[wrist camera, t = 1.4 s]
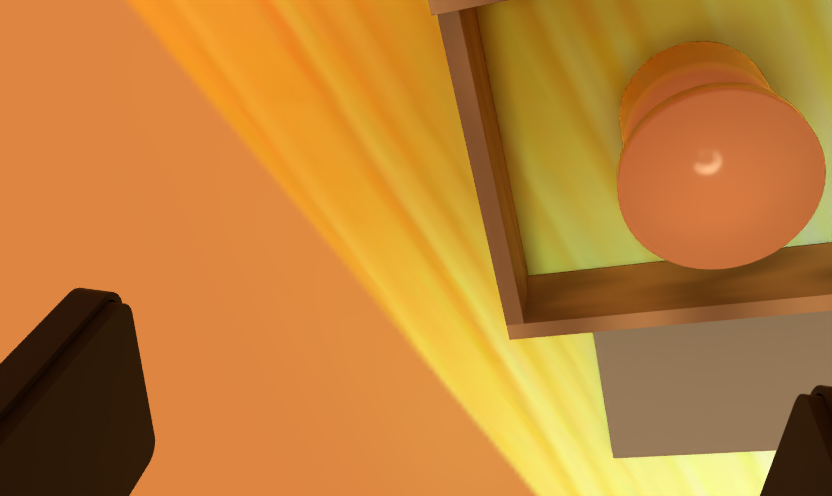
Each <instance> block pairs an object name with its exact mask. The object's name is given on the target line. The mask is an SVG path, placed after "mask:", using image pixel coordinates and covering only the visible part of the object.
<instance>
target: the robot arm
mask: <svg viewBox="0 0 832 496" xmlns="http://www.w3.org/2000/svg"><path fill="white" fill-rule="evenodd" d="M154 447H155V436H154V430H153V425H152V419H151V414H150V408H149V403H148V397H147V392H146V386H145V381H144V375H143V370H142V364H141V359H140V353H139V348H138V342H137V337H136V331H135V326H134V320H133V315H132V311H131V308H130V307H129V305H127V304H123V303H122V301H121V298H120V297H119V295H118V294H116V293H114V292H108V291H100V290H93V289H85V288H76V289H74V290H72V291H71V292H70V293H69V294H68V295H67V296H66V297H65V298H64V299H63V300H62V301H61V302H60V303H59V304H58V305H57V306H56V307H55V308H54V309H53V310H52V311H51V312H50V313H49V314H48V315H47V316H46V317H45V318H44V320H43V321H42V322H41V323H39V325H38V326H37V327H36V328H35V329H34V330H33V331H32V332H31V333H30V334H29V335H28V336H27V337H26V338H25V339H24V340H23V341H22V342H21V343H20V344H19V345H18V346H17V347H16V348H15V349H14V350H13V351H12V352H11V353H10V354H9V356H7V358H6V359H5V360H4V361H3V362H2V363H1V364H0V496H129V495H130V493H131V492H132V490H133V489H134V487H135V485H136V484H137V482H138V480H139V479H140V477H141V476H142V473H143V472H144V471H145V469H146V467H147V466H148V464H149V462H150V460H151V458H152V455H153V451H154ZM760 496H832V386H825V385H817V386H816V387H815V388H814V389H813V390H812V392H811V394H810V395H809V394H800V395H799V396H798V397H797V398H796V400H795V402H794V405H793V408H792V411H791V413H790V416H789V419H788V421H787V424H786V427H785V430H784V432H783V435H782V438H781V440H780V443H779V446H778V448H777V451H776V454H775V457H774V459H773V462H772V465H771V467H770V470H769V473H768V475H767V478H766V481H765V484H764V486H763V489H762V492H761V494H760Z"/></svg>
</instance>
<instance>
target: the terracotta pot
mask: <svg viewBox="0 0 832 496" xmlns="http://www.w3.org/2000/svg"><path fill="white" fill-rule="evenodd" d="M620 127H621V134H622V142H623V149H622V151H621V154H620V158H619V162H618V167H617V190H618V200H619V205H620V209H621V212H622V215H623V218H624V220H625V222H626V224H627V226H628V228H629V229H630V231H631V232H632V234H633V235H634V236H635V237H636V239H637V240H638V241H639V242H640V243H641V244H642V245H643V246H644V247H646V248H647V249H648V250H650V251H651V252H652V253H654V254H655V255H657V256H659V257H661V258H663V259H665V260H667V261H669V262H672V263H674V264H678V265H681V266H685V267H690V268H696V269H710V270H712V269H726V268H733V267H738V266H742V265H746V264H749V263H752V262H755V261H757V260H760V259H762V258H764V257H766V256H768V255H770V254H772V253H774V252H776V251H777V250H779V249H780V248H782V247H783V246H785V245H786V244H787V243H788V242H790V241H791V240H792V239H793V238H795V237H796V236H797V234H798V233H799V232H800V231H801V230H802V229H803V228H804V227H805V226H806V224H807V223H808V222H809V220H810V219H811V218H812V216H813V214H814V212H815V211H816V209H817V207H818V204H819V202H820V199H821V197H822V194H823V189H824V185H825V176H826V168H825V158H824V154H823V150H822V147H821V145H820V143H819V140H818V138H817V136H816V135H815V133H814V132H813V130H812V128H811V127H810V125H809V124H808V122H807V121H806V119H805V118H804V116H803V115H802V114H801V113H800V112H799V111H798V110H797V109H796V107H794V106H793V105H792V104H791V103H790V102H788V101H787V100H786V99H784V98H783V97H781V96H779V95H778V94H776V93H774V92H773V91H772V90H771V88H770V86H769V85H768V83H767V82H766V80H765V78H764V77H763V75H762V74H761V72H760V70H759V69H758V67H757V66H756V65H755V64H754V63H753V62H752V60H751V59H749V58H748V57H747V56H746V55H745V54H743V53H741V52H740V51H738V50H737V49H734V48H732V47H730V46H727V45H724V44H720V43H716V42H708V41H696V42H688V43H683V44H679V45H676V46H673V47H670V48H668V49H666V50H664V51H662V52H660V53H658V54H657V55H655V56H654V57H652V58H651V59H649V60H648V61H647V62H646V63H645V64H643V65H642V66H641V67H640V68H639V70H638V71H637V72H636V73H635V74H634V76H633V77H632V78H631V80H630V82H629V83H628V85H627V87H626V89H625V92H624V94H623V97H622V101H621V105H620Z"/></svg>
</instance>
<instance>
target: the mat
mask: <svg viewBox="0 0 832 496" xmlns="http://www.w3.org/2000/svg"><path fill="white" fill-rule="evenodd" d="M593 334H594V340H595V347H596V353H597V359H598V365H599V371H600V378H601V384H602V390H603V396H604V402H605V409H606V415H607V421H608V427H609V433H610V439H611V446H612V452H613V458H629V457H649V456H670V455H690V454H710V453H730V452H750V451H771V450H777V448H778V446H779V443H780V440H781V438H782V435H783V432H784V430H785V427H786V424H787V421H788V419H789V416H790V413H791V411H792V408H793V405H794V402H795V400H796V398H797V397H798V396H799V395H800V394H809V395H810V394H811V392H812V390H813V389H814V388H815V387H816V386H817V385H825V386H832V311H821V312H810V313H799V314H788V315H777V316H766V317H755V318H744V319H733V320H722V321H711V322H700V323H689V324H678V325H667V326H655V327H644V328H633V329H622V330H611V331H600V332H593Z"/></svg>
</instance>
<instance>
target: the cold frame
mask: <svg viewBox="0 0 832 496" xmlns="http://www.w3.org/2000/svg"><path fill="white" fill-rule="evenodd" d="M428 1H429V5H430V10H431V14H432V15H437V16H438V20H439V25H440V29H441V34H442V38H443V43H444V47H445V51H446V56H447V60H448V65H449V69H450V74H451V78H452V83H453V87H454V92H455V96H456V101H457V105H458V110H459V114H460V119H461V123H462V128H463V132H464V137H465V141H466V146H467V150H468V155H469V159H470V164H471V168H472V173H473V177H474V182H475V186H476V191H477V195H478V200H479V204H480V209H481V213H482V218H483V222H484V227H485V231H486V236H487V240H488V245H489V249H490V254H491V258H492V263H493V267H494V271H495V276H496V280H497V285H498V289H499V294H500V298H501V303H502V307H503V312H504V316H505V321H506V325H507V330H508V334H509V339H510V340H512V339H523V338H534V337H545V336H556V335H567V334H578V333H589V332H600V331H611V330H622V329H633V328H644V327H655V326H667V325H678V324H689V323H700V322H711V321H722V320H733V319H744V318H755V317H766V316H777V315H788V314H799V313H810V312H821V311H832V243H824V244H815V245H806V246H796V247H787V248H780V249H779V250H777V251H776V252H774V253H772V254H770V255H768V256H766V257H764V258H762V259H760V260H757V261H755V262H752V263H749V264H746V265H742V266H738V267H733V268H726V269H712V270H710V269H696V268H690V267H685V266H681V265H678V264H674V263H672V262H669V261H661V262H652V263H643V264H634V265H625V266H616V267H607V268H598V269H589V270H580V271H571V272H562V273H553V274H544V275H535V276H528V271H527V266H526V261H525V256H524V251H523V246H522V241H521V236H520V231H519V226H518V221H517V216H516V211H515V206H514V201H513V196H512V191H511V186H510V181H509V176H508V171H507V166H506V161H505V156H504V151H503V146H502V141H501V136H500V131H499V126H498V121H497V116H496V111H495V106H494V101H493V96H492V91H491V86H490V81H489V76H488V71H487V66H486V61H485V56H484V51H483V46H482V41H481V36H480V31H479V26H478V21H477V16H476V11H475V7H476V6H481V5H486V4H491V3H496V2H501V1H506V0H428Z"/></svg>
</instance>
